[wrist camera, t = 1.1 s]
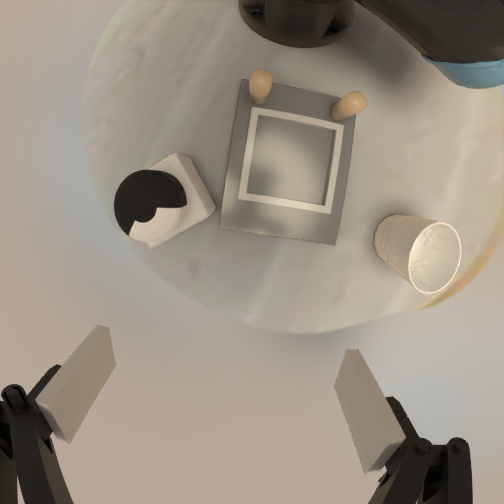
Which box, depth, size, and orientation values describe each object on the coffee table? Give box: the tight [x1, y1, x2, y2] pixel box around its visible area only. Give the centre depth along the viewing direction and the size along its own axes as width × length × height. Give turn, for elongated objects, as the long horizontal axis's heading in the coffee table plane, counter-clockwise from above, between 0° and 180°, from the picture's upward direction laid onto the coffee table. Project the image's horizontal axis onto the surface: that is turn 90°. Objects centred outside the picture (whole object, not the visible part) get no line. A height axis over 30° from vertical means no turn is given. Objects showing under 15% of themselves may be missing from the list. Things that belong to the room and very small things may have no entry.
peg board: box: [219, 69, 367, 245], centre depth 28 cm, size 18×14×7 cm
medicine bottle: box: [114, 153, 216, 249], centre depth 26 cm, size 7×7×12 cm
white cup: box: [374, 214, 461, 294], centre depth 29 cm, size 8×8×10 cm
